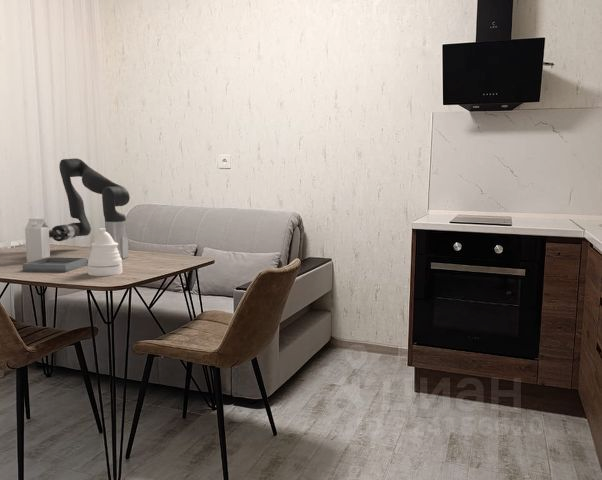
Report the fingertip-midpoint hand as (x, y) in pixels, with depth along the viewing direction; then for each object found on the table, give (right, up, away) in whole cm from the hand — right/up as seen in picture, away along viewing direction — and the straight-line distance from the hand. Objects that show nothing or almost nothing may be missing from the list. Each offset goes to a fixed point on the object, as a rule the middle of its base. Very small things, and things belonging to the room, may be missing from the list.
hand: (44, 236), depth 252 cm
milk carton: (-1, -11, -4) cm, 12 cm away
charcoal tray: (+15, -13, -22) cm, 30 cm away
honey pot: (+39, -15, -32) cm, 53 cm away
